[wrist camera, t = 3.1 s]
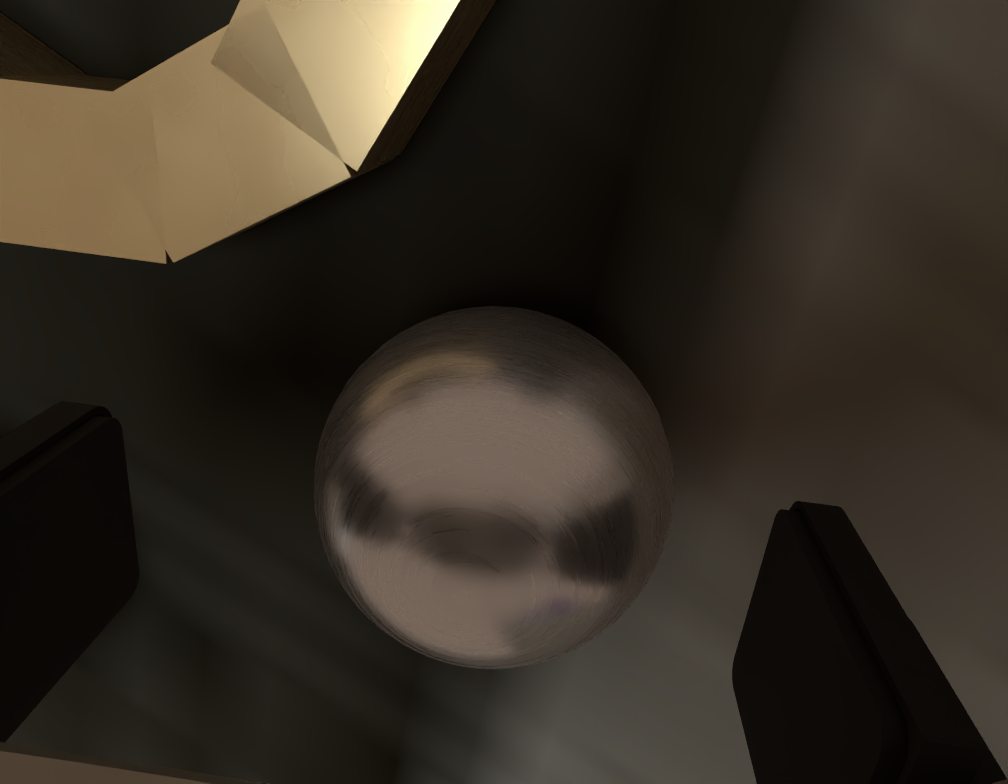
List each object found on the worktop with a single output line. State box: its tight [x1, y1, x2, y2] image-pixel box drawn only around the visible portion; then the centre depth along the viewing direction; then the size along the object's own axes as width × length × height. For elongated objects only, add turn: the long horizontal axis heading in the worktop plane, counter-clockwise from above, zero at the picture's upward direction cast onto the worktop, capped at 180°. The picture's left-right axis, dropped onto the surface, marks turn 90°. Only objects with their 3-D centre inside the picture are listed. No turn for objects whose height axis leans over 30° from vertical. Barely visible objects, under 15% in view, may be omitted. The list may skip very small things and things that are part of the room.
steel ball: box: [314, 306, 673, 669], centre depth 12 cm, size 6×6×6 cm
